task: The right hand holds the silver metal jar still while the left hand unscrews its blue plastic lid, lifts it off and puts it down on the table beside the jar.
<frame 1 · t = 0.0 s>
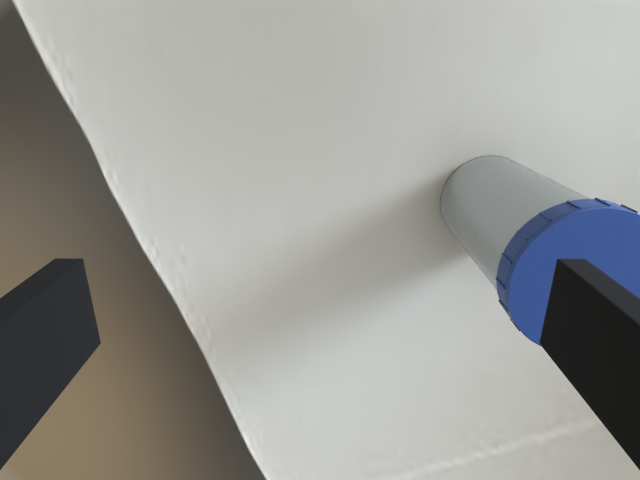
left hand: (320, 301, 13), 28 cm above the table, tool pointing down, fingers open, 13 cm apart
jar: (485, 200, 41), on the table
lid: (585, 282, 25), point 17 cm above the table, screwed on, not yet turned
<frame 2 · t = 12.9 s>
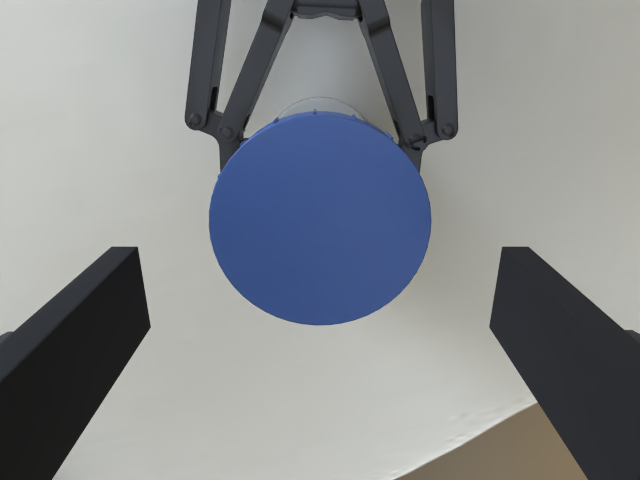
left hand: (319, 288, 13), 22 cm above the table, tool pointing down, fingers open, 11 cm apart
right hand: (317, 243, 29), fingers closed on jar, 8 cm apart
jar: (319, 153, 34), on the table, touching right hand
lid: (320, 227, 18), point 17 cm above the table, screwed on, not yet turned
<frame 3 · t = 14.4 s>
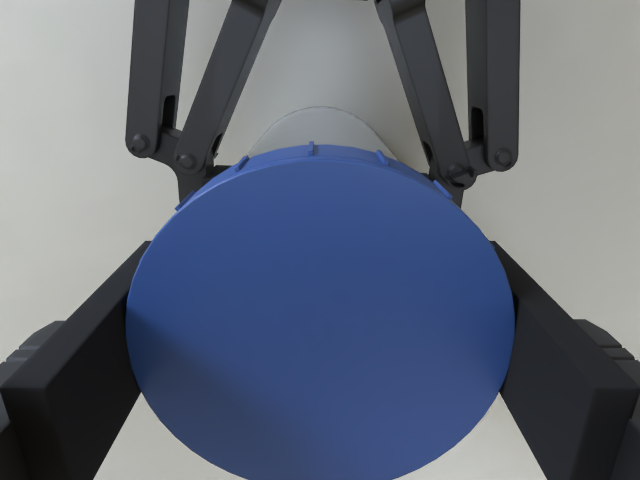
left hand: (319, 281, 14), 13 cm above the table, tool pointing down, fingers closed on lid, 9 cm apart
right hand: (316, 307, 22), fingers closed on jar, 8 cm apart
jar: (320, 179, 26), on the table, touching right hand
lid: (320, 343, 11), point 16 cm above the table, screwed on, not yet turned, touching left hand
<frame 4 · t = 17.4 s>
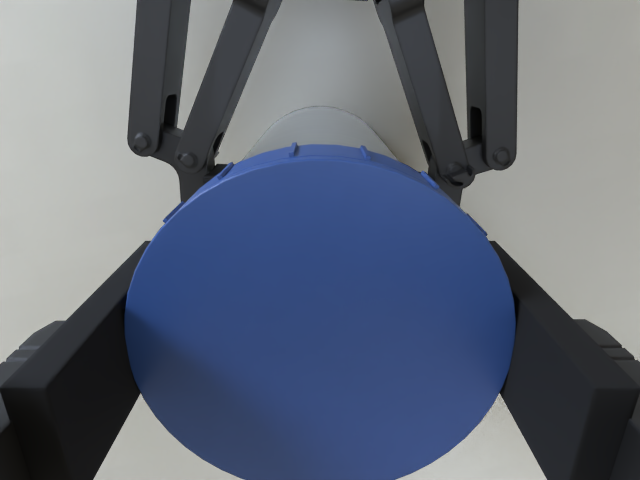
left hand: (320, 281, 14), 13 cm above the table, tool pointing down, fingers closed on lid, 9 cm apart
right hand: (316, 304, 22), fingers closed on jar, 8 cm apart
jar: (320, 178, 26), on the table, touching right hand
lid: (320, 343, 11), point 17 cm above the table, turned 65° so far, risen 0.2 cm, still on its thread, touching left hand
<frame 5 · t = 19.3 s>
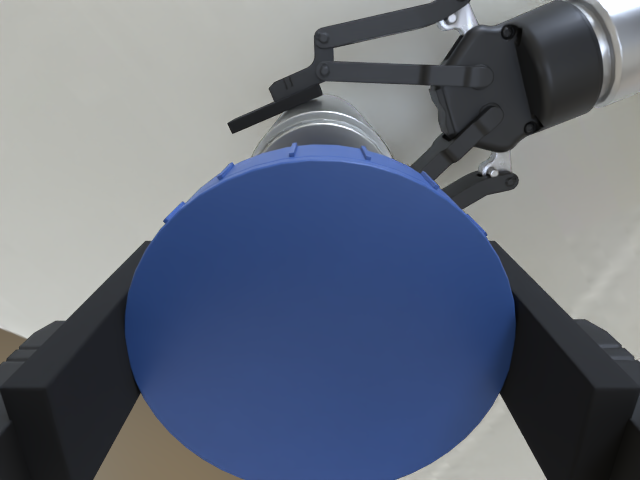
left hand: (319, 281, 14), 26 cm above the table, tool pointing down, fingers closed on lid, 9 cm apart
right hand: (261, 184, 32), fingers closed on jar, 8 cm apart
jar: (321, 144, 38), on the table, touching right hand
lid: (320, 344, 11), point 29 cm above the table, off its thread, touching left hand
when the left hand's fingers open (0 cm above the table, at t = 24.7 s): lid drops 2 cm, point 2 cm above the table.
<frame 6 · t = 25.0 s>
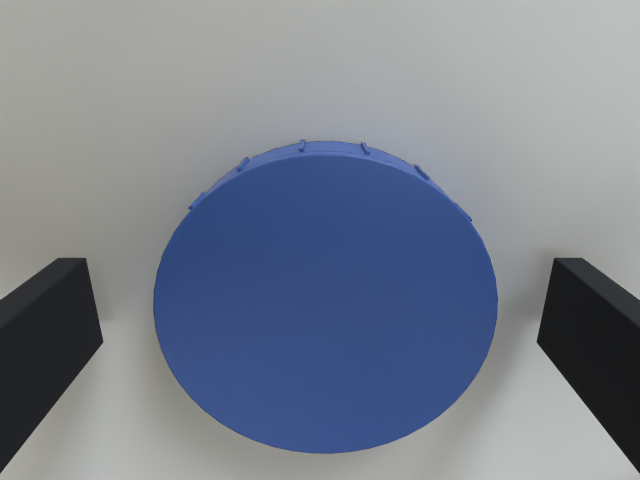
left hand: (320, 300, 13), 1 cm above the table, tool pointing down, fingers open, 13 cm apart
lid: (325, 318, 12), point 2 cm above the table, off its thread
when the right hand's fingers open (7 cm above the table, at t = 25.7 s): jar stays where it is, on the table.
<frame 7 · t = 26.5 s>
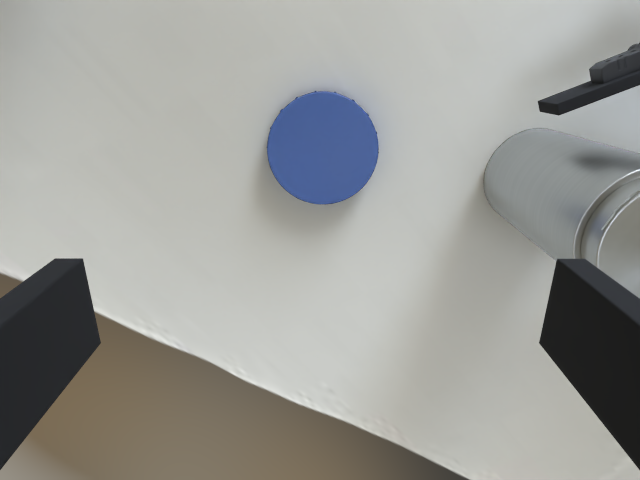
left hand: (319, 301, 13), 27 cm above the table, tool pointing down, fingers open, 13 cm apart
jar: (531, 176, 39), on the table
lid: (322, 150, 36), point 2 cm above the table, off its thread
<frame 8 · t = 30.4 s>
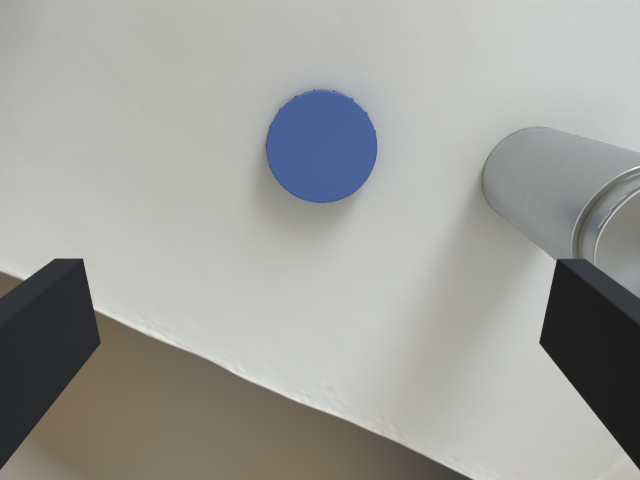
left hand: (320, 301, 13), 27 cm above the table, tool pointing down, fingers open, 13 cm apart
jar: (529, 174, 39), on the table
lid: (321, 148, 36), point 2 cm above the table, off its thread
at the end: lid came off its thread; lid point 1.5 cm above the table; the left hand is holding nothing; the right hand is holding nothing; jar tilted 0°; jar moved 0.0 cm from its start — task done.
